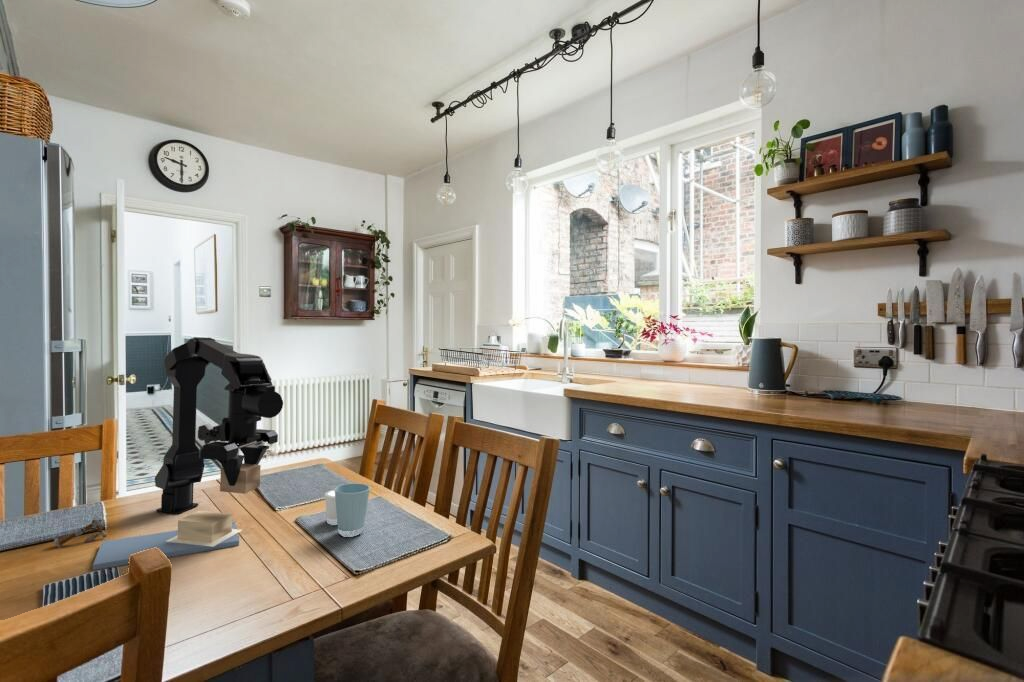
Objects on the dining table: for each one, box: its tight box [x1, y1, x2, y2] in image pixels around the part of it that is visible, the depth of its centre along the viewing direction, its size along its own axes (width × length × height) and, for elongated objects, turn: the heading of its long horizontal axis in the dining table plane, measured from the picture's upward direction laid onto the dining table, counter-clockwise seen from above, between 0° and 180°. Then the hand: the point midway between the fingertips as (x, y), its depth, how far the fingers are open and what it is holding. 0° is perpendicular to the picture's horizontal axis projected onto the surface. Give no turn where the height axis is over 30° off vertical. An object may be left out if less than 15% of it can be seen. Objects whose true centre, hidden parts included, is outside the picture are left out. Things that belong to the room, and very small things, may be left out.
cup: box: [334, 482, 371, 531], centre depth 115 cm, size 8×8×10 cm
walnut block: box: [219, 462, 262, 495], centre depth 112 cm, size 5×6×5 cm
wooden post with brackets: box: [53, 518, 107, 549], centre depth 105 cm, size 2×8×4 cm, turn 130°
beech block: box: [177, 510, 233, 543], centre depth 108 cm, size 6×8×4 cm
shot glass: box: [324, 489, 337, 519], centre depth 122 cm, size 7×7×7 cm
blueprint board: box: [92, 521, 243, 571], centre depth 105 cm, size 25×14×1 cm, turn 123°
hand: (240, 482), depth 112 cm, fingers closed on walnut block, 5 cm apart
